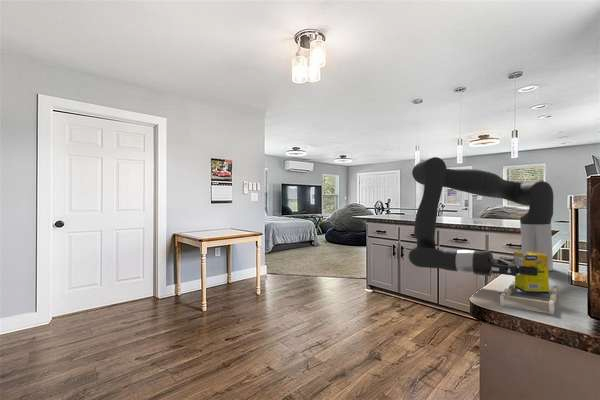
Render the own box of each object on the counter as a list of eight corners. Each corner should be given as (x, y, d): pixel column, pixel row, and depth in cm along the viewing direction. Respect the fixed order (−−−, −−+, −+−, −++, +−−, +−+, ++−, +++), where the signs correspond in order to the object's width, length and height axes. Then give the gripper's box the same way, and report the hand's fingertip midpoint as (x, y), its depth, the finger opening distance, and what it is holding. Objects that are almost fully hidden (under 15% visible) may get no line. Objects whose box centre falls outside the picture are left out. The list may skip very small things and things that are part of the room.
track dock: (513, 285, 94) (512, 277, 94) (557, 291, 87) (557, 282, 87) (500, 305, 78) (500, 295, 78) (553, 314, 71) (553, 303, 71)
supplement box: (549, 294, 82) (548, 254, 82) (525, 294, 84) (523, 254, 84) (537, 288, 88) (536, 251, 88) (514, 287, 89) (513, 251, 89)
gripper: (467, 254, 90) (536, 259, 79) (479, 247, 101) (540, 251, 90) (468, 278, 90) (537, 288, 79) (479, 269, 101) (541, 276, 90)
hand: (539, 268), depth 85 cm, fingers open, 8 cm apart
